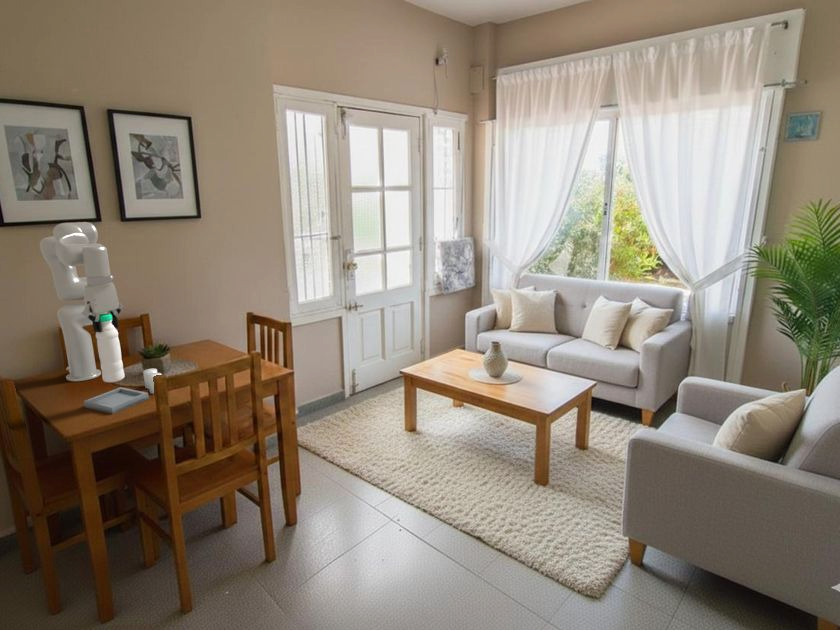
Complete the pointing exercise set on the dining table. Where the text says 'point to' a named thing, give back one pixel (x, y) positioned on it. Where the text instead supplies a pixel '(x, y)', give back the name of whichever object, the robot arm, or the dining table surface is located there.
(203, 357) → the dining table surface
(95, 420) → the dining table surface
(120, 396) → the tray
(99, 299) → the robot arm
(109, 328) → the water bottle
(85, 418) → the dining table surface
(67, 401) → the dining table surface
